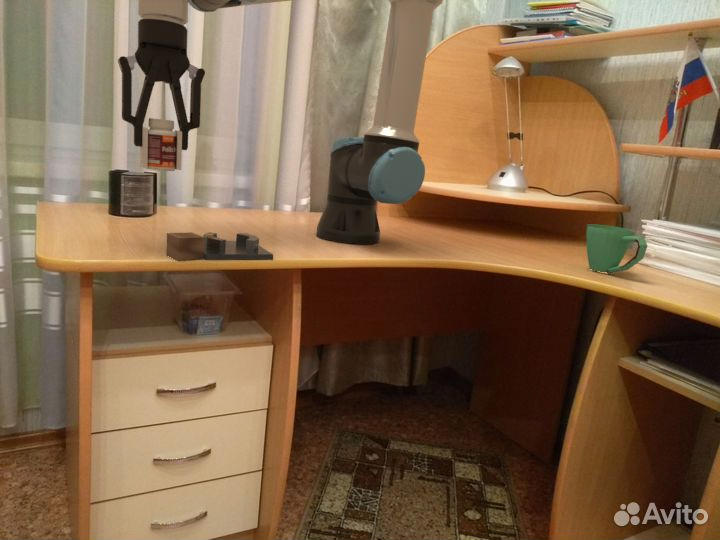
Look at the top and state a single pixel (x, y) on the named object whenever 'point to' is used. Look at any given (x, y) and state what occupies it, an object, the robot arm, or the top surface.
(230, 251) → the socket
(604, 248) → the mug
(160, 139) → the pill bottle
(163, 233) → the top surface
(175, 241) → the walnut block
